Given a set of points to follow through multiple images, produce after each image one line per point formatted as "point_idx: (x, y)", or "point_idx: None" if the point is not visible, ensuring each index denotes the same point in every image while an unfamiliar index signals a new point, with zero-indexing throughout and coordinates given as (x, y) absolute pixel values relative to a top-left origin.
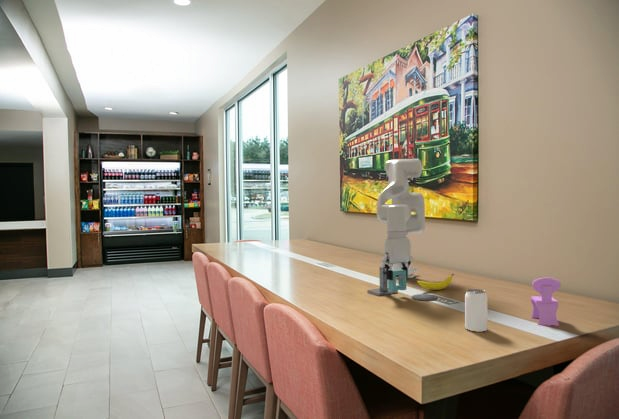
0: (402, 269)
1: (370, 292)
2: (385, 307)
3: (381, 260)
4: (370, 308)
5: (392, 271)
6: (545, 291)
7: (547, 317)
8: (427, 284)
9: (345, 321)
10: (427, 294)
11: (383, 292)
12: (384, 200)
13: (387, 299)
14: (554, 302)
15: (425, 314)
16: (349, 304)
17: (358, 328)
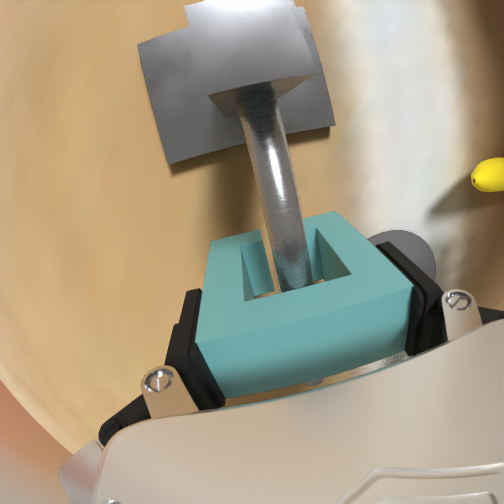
0: (410, 304)
1: (147, 77)
2: (144, 368)
3: (70, 489)
4: (89, 358)
5: (219, 406)
6: None
7: None
8: (493, 191)
9: (41, 406)
10: (430, 250)
11: (214, 142)
12: None
13: (193, 259)
14: None
15: None
16: (20, 284)
17: (72, 438)
